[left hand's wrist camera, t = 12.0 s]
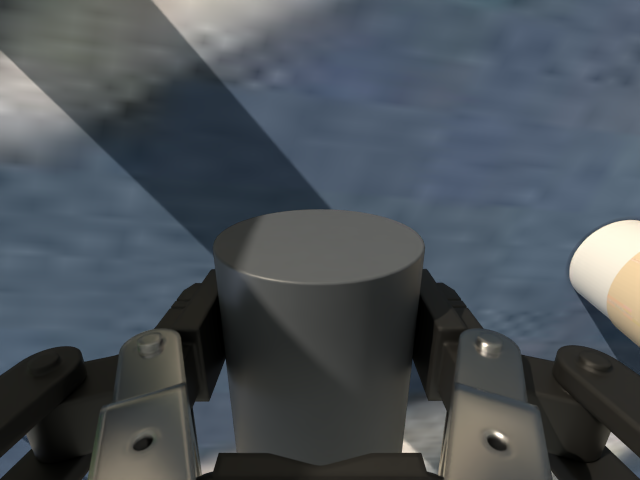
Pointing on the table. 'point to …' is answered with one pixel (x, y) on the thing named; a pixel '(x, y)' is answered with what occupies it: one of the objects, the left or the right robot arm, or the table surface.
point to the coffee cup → (611, 274)
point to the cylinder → (319, 331)
